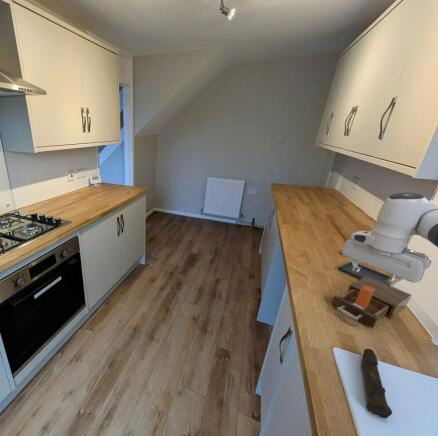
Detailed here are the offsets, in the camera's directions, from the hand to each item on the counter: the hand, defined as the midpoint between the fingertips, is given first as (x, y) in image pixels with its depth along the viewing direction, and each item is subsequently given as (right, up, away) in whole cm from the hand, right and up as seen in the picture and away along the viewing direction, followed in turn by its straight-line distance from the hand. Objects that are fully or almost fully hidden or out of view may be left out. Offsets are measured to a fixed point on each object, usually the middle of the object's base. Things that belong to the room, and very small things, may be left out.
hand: (371, 278), depth 81 cm
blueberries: (+31, +1, +45) cm, 55 cm away
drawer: (-2, -13, +4) cm, 14 cm away
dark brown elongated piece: (-19, -23, -19) cm, 35 cm away
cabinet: (+12, -12, +11) cm, 20 cm away
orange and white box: (0, -12, +4) cm, 13 cm away
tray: (+22, -6, +28) cm, 36 cm away
